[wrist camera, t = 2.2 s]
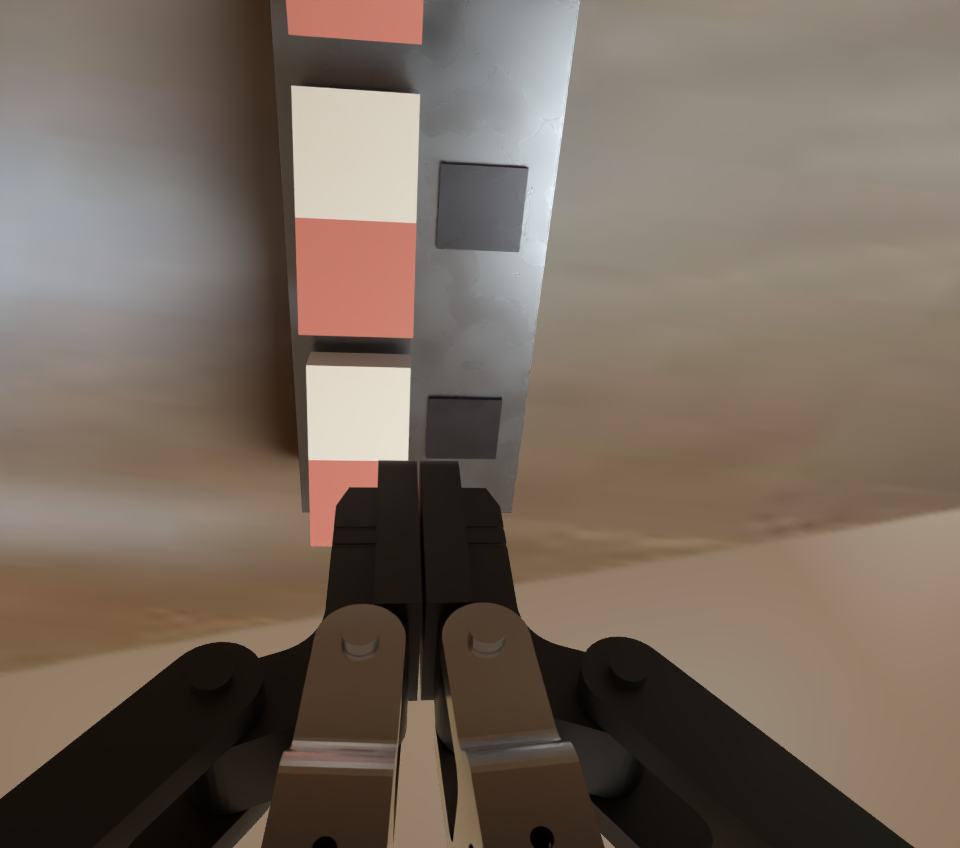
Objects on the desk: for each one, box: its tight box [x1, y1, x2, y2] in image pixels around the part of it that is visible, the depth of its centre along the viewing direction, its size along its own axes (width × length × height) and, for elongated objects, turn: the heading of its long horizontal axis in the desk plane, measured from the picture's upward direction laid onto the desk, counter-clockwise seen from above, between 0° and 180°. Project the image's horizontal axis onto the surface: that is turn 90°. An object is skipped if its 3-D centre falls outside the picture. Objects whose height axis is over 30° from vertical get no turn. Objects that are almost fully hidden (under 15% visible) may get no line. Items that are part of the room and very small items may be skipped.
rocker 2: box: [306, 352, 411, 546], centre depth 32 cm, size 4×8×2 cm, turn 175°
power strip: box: [270, 0, 580, 513], centre depth 30 cm, size 10×30×4 cm, turn 175°
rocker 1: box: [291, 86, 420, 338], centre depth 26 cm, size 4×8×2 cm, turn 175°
